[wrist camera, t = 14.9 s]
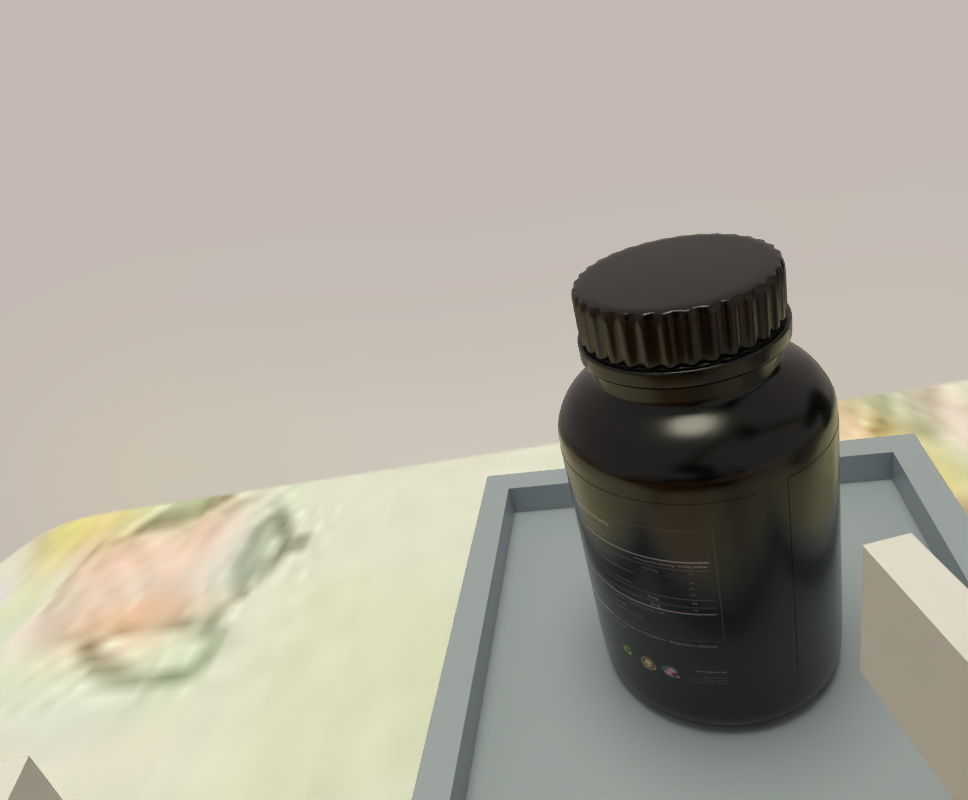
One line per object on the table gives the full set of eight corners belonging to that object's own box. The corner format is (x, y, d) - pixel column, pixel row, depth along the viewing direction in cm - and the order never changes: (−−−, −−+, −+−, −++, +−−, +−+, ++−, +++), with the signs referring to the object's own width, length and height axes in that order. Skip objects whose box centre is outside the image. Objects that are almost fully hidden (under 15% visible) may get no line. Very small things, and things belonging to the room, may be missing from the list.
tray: (911, 478, 29) (914, 433, 28) (1191, 957, 15) (1215, 900, 14) (497, 514, 32) (487, 476, 31) (415, 927, 18) (392, 880, 18)
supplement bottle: (674, 539, 27) (632, 213, 22) (877, 608, 23) (890, 218, 17) (559, 670, 23) (471, 312, 18) (777, 786, 19) (752, 352, 13)
